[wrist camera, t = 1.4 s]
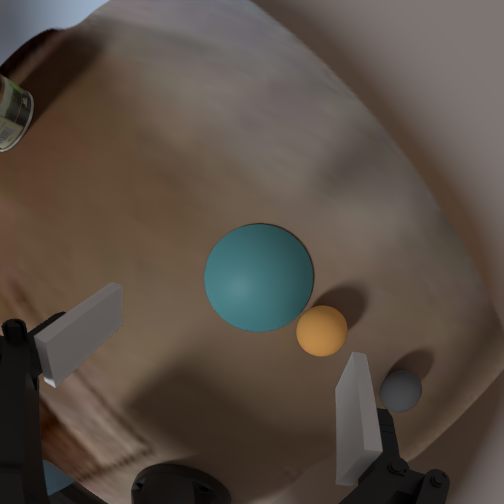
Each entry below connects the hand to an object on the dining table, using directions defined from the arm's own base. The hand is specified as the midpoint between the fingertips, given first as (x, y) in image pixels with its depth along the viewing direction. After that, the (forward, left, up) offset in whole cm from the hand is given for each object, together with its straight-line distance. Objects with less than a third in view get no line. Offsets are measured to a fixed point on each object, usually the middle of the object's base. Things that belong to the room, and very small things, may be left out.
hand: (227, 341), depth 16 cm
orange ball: (-5, -8, -16) cm, 18 cm away
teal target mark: (+1, -2, -18) cm, 19 cm away
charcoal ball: (-15, -18, -16) cm, 28 cm away
